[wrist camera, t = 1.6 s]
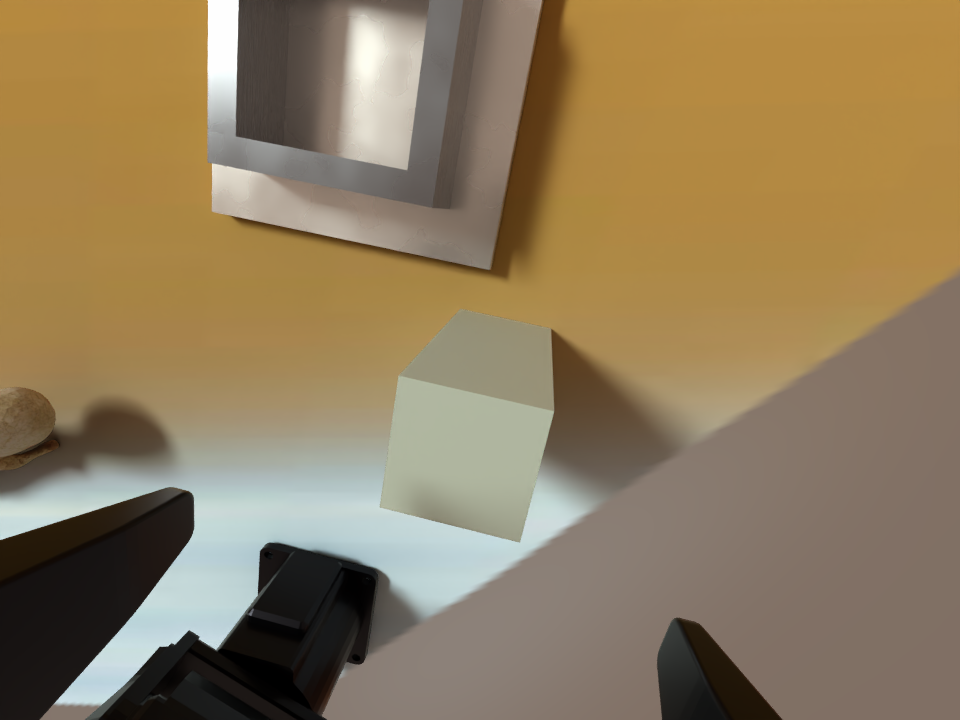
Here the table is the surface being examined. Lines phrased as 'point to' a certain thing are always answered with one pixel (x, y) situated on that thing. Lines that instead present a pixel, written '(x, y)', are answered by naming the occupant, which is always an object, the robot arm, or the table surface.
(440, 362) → the rail post
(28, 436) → the figurine
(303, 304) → the table surface
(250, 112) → the bracket
